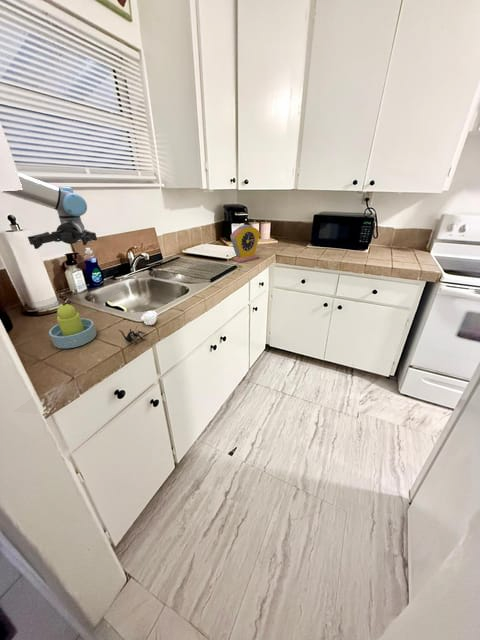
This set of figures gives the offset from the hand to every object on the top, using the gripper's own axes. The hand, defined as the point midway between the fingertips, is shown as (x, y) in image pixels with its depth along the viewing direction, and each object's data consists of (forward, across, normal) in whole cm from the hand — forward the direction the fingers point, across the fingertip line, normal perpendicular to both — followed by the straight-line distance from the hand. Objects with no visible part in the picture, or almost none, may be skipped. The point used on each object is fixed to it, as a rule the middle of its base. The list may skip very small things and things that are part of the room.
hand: (59, 242), depth 84 cm
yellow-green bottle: (+15, +1, -28) cm, 31 cm away
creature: (+23, -17, -28) cm, 40 cm away
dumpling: (+12, -22, -28) cm, 38 cm away
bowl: (+15, +1, -28) cm, 32 cm away
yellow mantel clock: (-55, -90, -28) cm, 109 cm away
